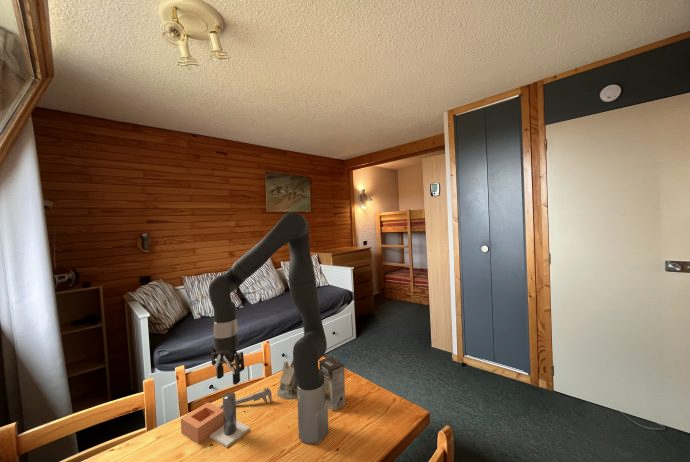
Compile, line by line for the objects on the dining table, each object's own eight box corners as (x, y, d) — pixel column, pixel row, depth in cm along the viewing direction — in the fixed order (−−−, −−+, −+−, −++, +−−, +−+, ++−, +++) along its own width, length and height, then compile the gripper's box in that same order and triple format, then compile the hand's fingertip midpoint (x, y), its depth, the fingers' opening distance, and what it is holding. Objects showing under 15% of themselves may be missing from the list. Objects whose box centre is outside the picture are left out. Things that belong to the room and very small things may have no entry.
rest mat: (249, 429, 94) (249, 427, 94) (226, 447, 86) (226, 445, 86) (233, 420, 99) (232, 418, 99) (209, 437, 91) (209, 435, 91)
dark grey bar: (239, 429, 93) (237, 394, 93) (228, 437, 90) (227, 400, 90) (231, 425, 95) (230, 391, 95) (221, 432, 92) (220, 397, 92)
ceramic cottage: (272, 392, 115) (273, 357, 115) (301, 377, 128) (302, 345, 128) (295, 409, 105) (297, 371, 105) (325, 391, 118) (326, 357, 118)
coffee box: (319, 400, 109) (318, 360, 109) (332, 394, 113) (331, 355, 113) (332, 411, 102) (331, 369, 102) (345, 404, 106) (344, 363, 106)
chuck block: (225, 424, 97) (224, 410, 97) (198, 443, 88) (197, 428, 88) (208, 415, 102) (208, 402, 102) (181, 432, 93) (180, 418, 93)
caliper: (271, 401, 110) (271, 386, 110) (271, 403, 108) (270, 387, 108) (218, 407, 107) (218, 391, 107) (218, 409, 106) (217, 393, 106)
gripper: (249, 332, 92) (251, 379, 92) (222, 326, 99) (224, 370, 99) (229, 340, 85) (232, 391, 85) (203, 333, 93) (205, 381, 92)
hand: (228, 380), depth 92 cm, fingers open, 8 cm apart
